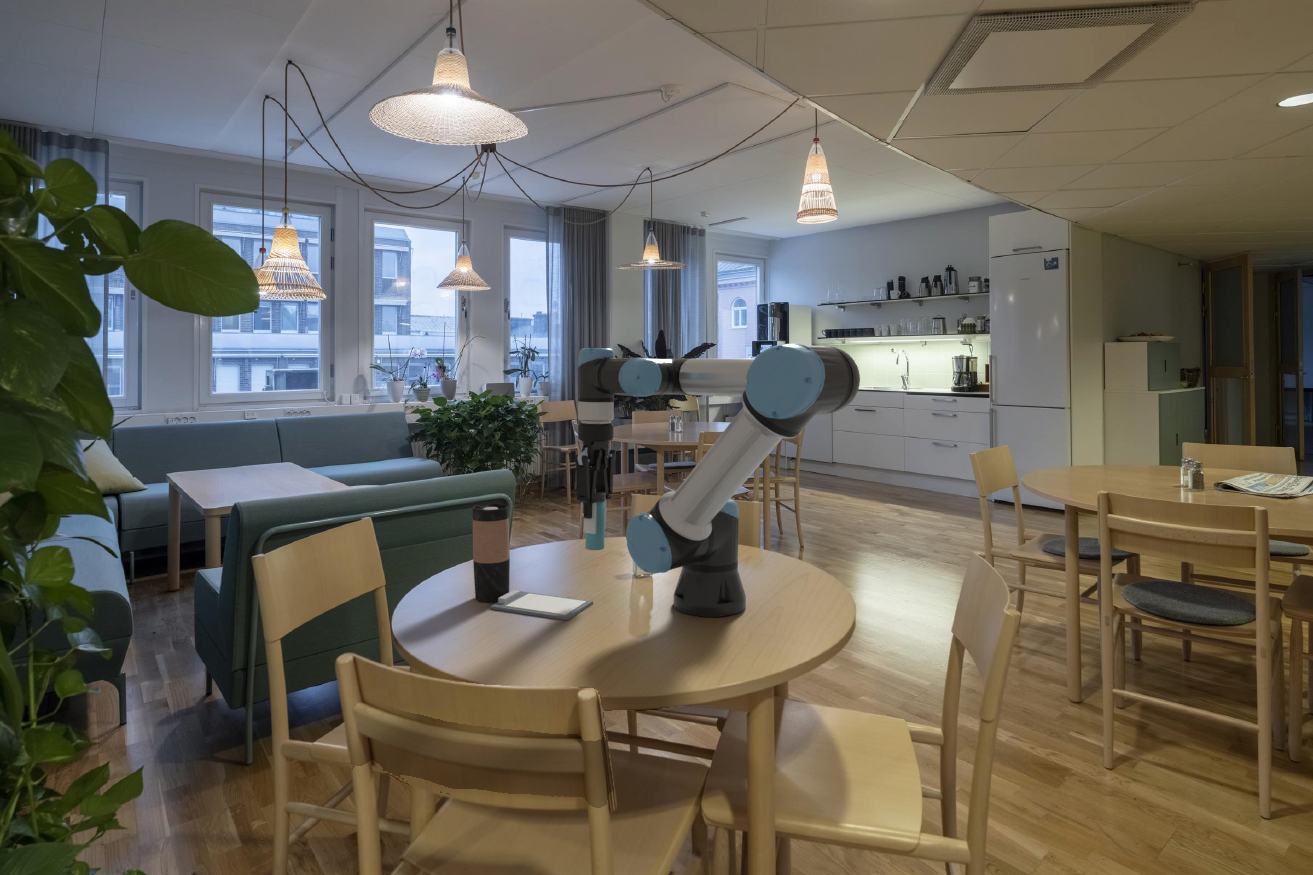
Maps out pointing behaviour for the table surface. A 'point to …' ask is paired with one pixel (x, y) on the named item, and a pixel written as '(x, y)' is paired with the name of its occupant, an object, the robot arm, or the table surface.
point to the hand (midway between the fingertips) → (595, 530)
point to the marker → (597, 524)
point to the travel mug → (491, 552)
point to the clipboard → (541, 605)
